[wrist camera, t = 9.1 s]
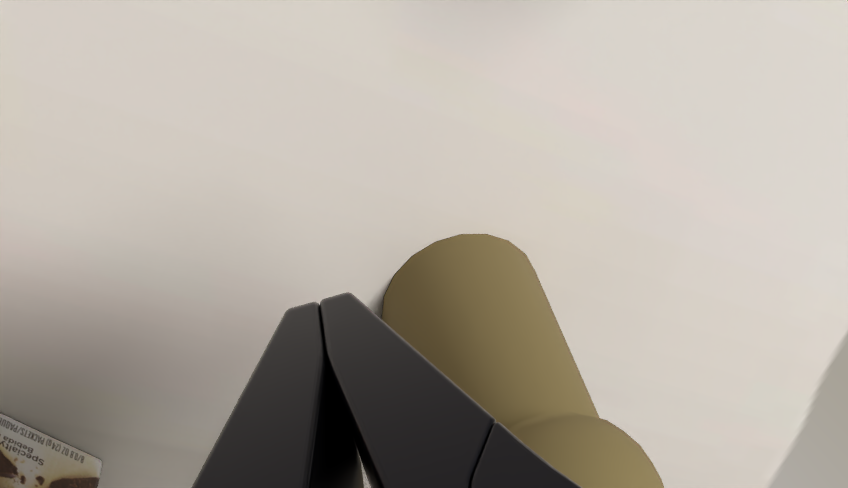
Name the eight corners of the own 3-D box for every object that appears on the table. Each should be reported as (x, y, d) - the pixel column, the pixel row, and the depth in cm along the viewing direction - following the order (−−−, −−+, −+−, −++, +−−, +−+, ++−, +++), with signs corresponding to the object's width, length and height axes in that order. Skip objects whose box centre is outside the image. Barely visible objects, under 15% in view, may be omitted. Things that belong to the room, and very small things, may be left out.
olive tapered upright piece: (364, 361, 25) (438, 662, 16) (405, 222, 22) (523, 487, 13) (506, 370, 27) (646, 641, 18) (560, 244, 24) (756, 485, 15)
